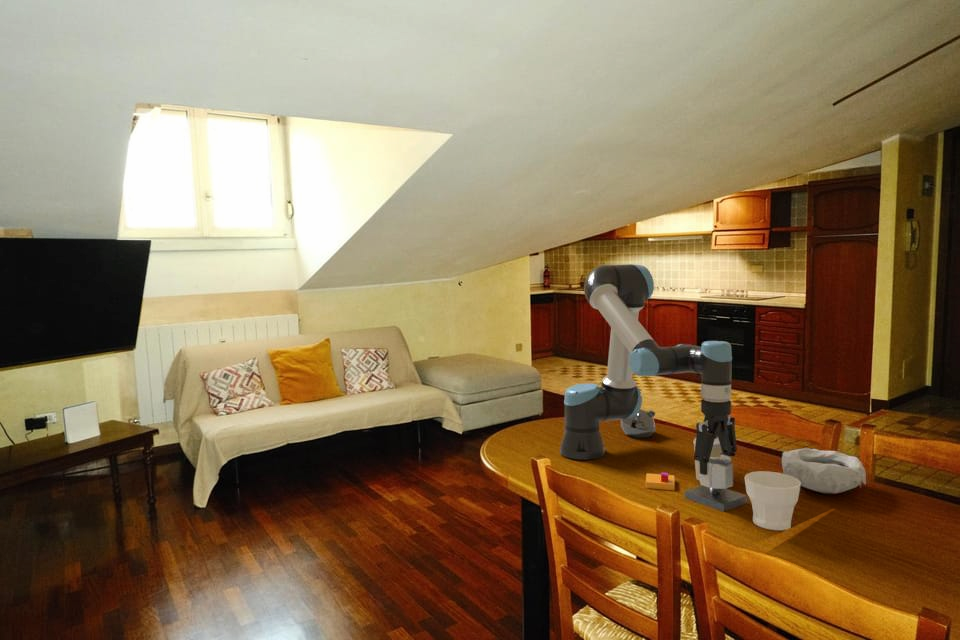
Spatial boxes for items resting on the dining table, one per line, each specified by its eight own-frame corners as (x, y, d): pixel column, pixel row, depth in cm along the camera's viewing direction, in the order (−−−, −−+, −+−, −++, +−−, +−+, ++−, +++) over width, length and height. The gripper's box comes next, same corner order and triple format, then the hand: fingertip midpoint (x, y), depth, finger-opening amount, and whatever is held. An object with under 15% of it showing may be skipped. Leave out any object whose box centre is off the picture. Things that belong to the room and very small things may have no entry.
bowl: (795, 473, 182) (796, 440, 181) (874, 489, 167) (875, 454, 167) (770, 491, 168) (770, 456, 167) (853, 511, 153) (854, 472, 152)
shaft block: (684, 497, 164) (684, 471, 164) (707, 490, 170) (707, 464, 169) (723, 511, 154) (724, 483, 154) (746, 502, 160) (746, 475, 159)
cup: (774, 538, 138) (775, 491, 138) (732, 518, 150) (733, 475, 149) (812, 528, 143) (813, 483, 143) (768, 510, 155) (769, 468, 154)
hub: (719, 490, 156) (719, 468, 155) (693, 482, 163) (693, 460, 162) (738, 484, 160) (738, 462, 160) (712, 476, 167) (712, 455, 167)
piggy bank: (642, 446, 213) (642, 415, 212) (612, 437, 225) (612, 407, 225) (664, 441, 218) (664, 410, 218) (634, 432, 231) (634, 403, 230)
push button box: (645, 489, 172) (645, 475, 172) (646, 480, 180) (646, 466, 180) (674, 492, 170) (674, 477, 170) (674, 482, 178) (674, 468, 177)
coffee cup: (729, 485, 173) (730, 444, 172) (695, 484, 175) (695, 443, 174) (723, 475, 182) (723, 436, 181) (691, 473, 184) (691, 435, 183)
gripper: (703, 407, 151) (703, 494, 153) (752, 396, 162) (751, 478, 164) (679, 402, 157) (679, 486, 159) (727, 392, 169) (726, 471, 170)
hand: (715, 482), depth 161 cm, fingers closed on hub, 8 cm apart
